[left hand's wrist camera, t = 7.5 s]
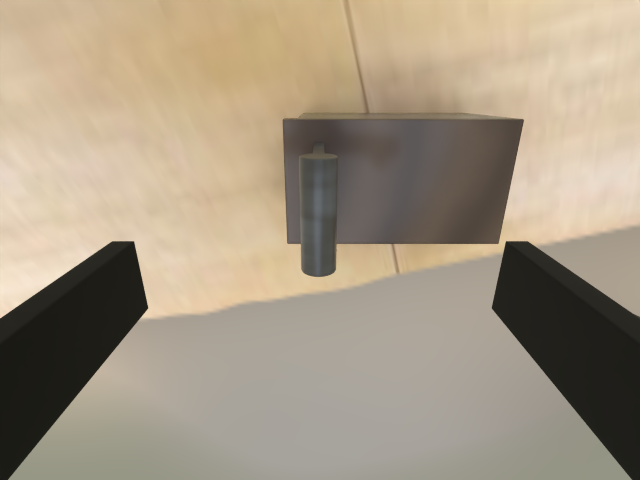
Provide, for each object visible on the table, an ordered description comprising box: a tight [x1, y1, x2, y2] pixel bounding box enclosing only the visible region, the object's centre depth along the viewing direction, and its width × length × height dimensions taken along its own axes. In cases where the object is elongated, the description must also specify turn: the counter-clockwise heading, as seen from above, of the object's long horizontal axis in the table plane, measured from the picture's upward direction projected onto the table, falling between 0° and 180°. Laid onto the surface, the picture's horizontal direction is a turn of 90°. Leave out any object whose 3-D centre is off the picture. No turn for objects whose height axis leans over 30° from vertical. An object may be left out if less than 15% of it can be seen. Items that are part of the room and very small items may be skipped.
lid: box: [283, 118, 524, 277], centre depth 22 cm, size 16×9×9 cm, turn 90°
